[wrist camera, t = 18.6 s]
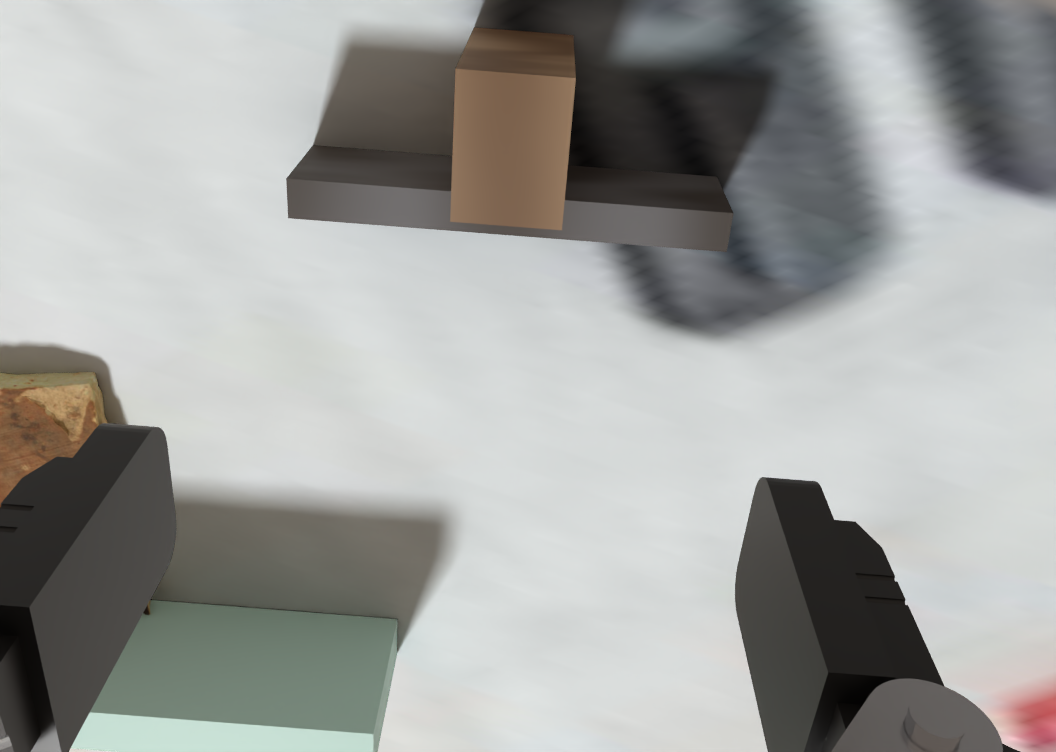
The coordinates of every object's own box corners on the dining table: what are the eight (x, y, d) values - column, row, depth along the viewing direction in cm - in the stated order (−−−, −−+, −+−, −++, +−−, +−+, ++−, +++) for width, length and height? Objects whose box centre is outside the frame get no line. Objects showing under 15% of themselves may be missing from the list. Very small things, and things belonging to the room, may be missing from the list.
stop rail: (397, 619, 41) (373, 734, 36) (396, 654, 42) (373, 771, 37) (-132, 577, 41) (-235, 687, 36) (-121, 614, 42) (-218, 726, 37)
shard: (162, 591, 41) (146, 621, 40) (-17, 587, 42) (-40, 616, 40) (112, 364, 36) (92, 388, 35) (-92, 360, 36) (-122, 383, 35)
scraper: (738, 47, 30) (776, 93, 25) (710, 212, 32) (739, 285, 27) (308, 14, 30) (253, 53, 24) (314, 181, 32) (266, 249, 27)
